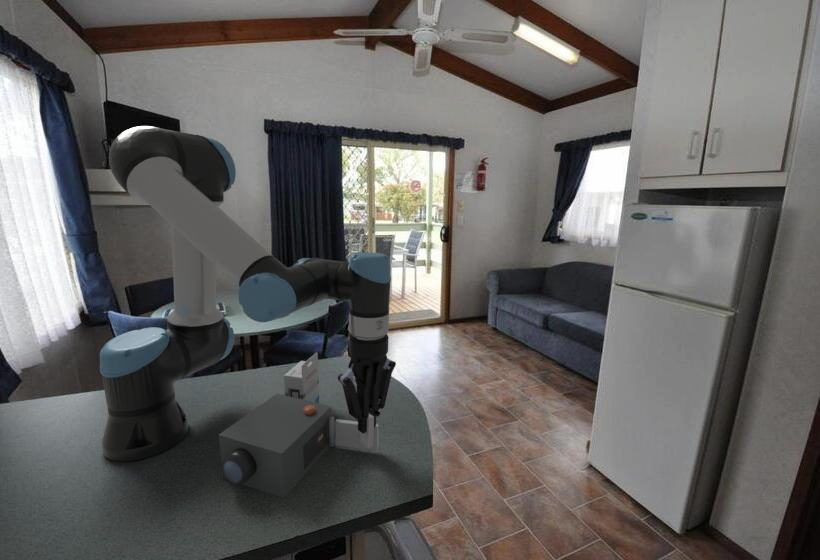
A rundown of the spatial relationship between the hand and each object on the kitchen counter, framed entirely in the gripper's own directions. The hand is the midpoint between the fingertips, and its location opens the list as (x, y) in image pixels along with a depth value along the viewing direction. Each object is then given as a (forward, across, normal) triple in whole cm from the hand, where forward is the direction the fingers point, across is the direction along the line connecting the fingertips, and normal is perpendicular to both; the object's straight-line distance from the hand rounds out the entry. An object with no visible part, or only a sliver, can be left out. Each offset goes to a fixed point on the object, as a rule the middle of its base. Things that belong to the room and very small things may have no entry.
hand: (366, 443), depth 75 cm
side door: (+2, 0, +3) cm, 4 cm away
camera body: (+4, -14, +10) cm, 18 cm away
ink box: (+4, -1, +24) cm, 24 cm away
